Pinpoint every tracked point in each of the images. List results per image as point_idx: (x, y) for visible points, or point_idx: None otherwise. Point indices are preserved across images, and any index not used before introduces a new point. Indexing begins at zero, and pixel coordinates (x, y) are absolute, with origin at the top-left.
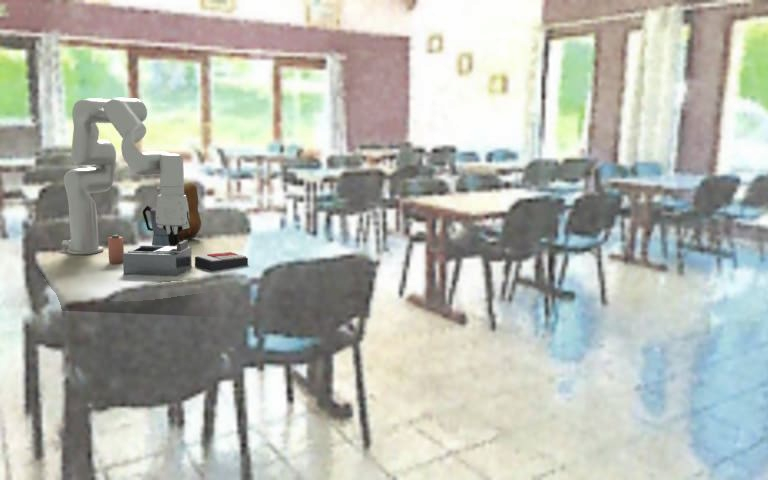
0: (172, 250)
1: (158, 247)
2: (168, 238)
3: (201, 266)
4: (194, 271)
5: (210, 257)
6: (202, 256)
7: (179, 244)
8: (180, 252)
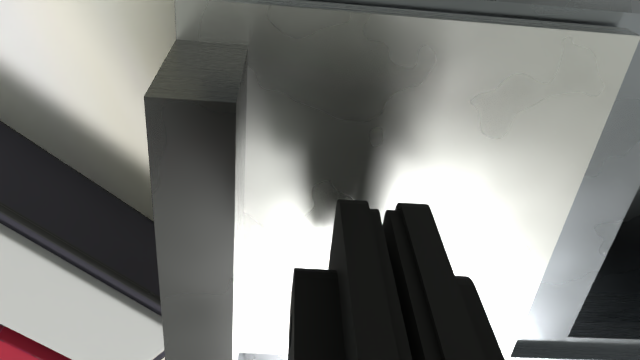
0: (348, 87)
1: (599, 344)
2: (493, 332)
3: (110, 207)
4: (124, 71)
5: (8, 303)
6: (110, 325)
7: (169, 95)
8: (179, 24)
